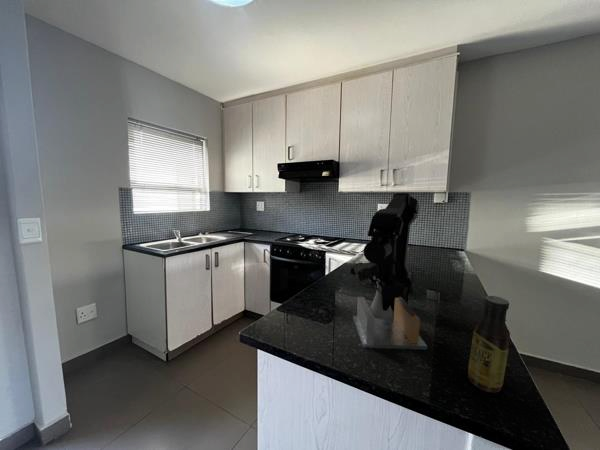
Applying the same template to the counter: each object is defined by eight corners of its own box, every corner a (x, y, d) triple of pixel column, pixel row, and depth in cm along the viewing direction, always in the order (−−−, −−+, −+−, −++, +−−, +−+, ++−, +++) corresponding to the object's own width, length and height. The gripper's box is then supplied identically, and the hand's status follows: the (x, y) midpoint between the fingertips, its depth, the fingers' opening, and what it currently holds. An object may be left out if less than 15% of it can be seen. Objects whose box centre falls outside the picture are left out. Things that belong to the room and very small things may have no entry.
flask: (395, 321, 71) (397, 287, 69) (368, 318, 72) (370, 285, 71) (391, 310, 78) (393, 279, 76) (367, 308, 79) (368, 277, 78)
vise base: (404, 319, 83) (406, 296, 82) (427, 349, 67) (429, 321, 66) (353, 318, 84) (354, 295, 83) (363, 347, 68) (364, 319, 67)
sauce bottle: (460, 374, 58) (468, 292, 55) (485, 373, 58) (494, 291, 56) (483, 397, 51) (493, 305, 49) (511, 395, 52) (523, 304, 50)
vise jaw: (399, 318, 82) (401, 294, 81) (418, 343, 68) (420, 315, 67) (393, 317, 82) (395, 294, 81) (410, 343, 68) (412, 315, 67)
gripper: (351, 247, 82) (350, 293, 84) (363, 264, 64) (361, 321, 66) (385, 248, 82) (383, 294, 84) (408, 264, 63) (404, 322, 65)
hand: (382, 306), depth 75 cm, fingers closed on flask, 5 cm apart
